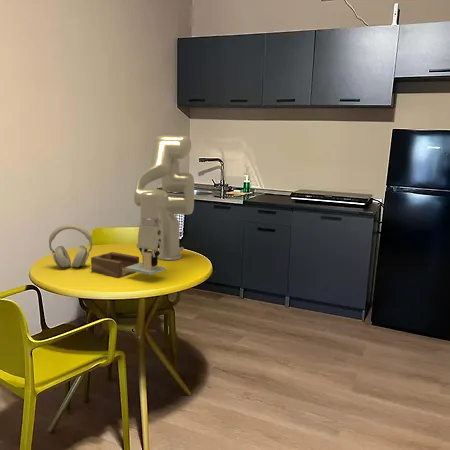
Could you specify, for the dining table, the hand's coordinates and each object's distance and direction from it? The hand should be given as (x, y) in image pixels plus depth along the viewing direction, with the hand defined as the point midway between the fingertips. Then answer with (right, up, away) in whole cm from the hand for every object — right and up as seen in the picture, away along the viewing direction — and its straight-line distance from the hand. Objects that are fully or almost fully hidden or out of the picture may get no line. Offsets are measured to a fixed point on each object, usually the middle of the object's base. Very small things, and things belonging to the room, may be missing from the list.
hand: (150, 264), depth 192 cm
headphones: (-38, -3, +16) cm, 41 cm away
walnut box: (-17, -4, +11) cm, 20 cm away
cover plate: (-2, -2, +2) cm, 4 cm away
